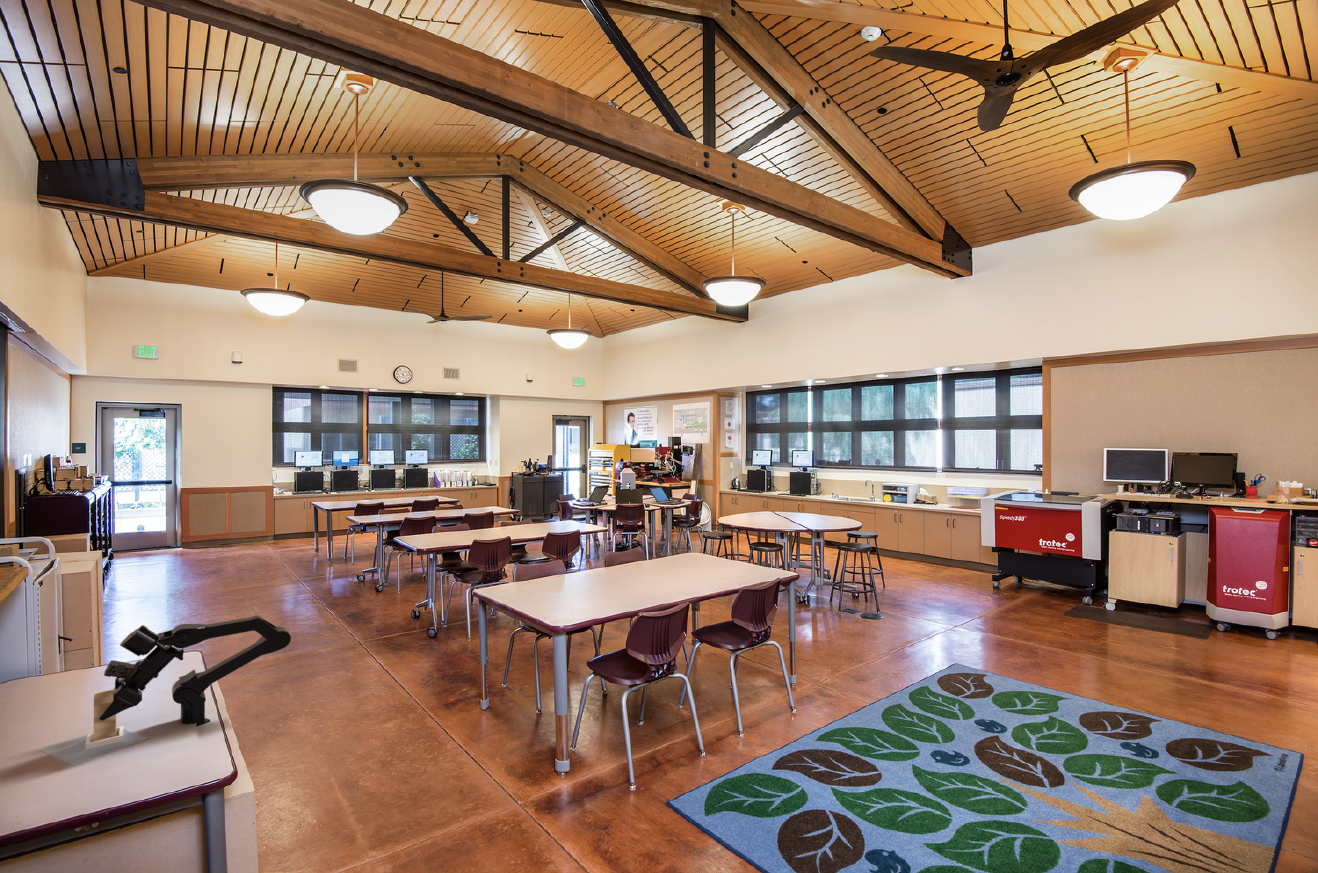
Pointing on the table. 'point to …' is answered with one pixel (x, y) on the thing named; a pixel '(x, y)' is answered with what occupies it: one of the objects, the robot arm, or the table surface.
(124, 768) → the table surface
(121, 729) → the socket frame
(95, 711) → the maple pillar
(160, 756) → the table surface
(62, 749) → the base board
